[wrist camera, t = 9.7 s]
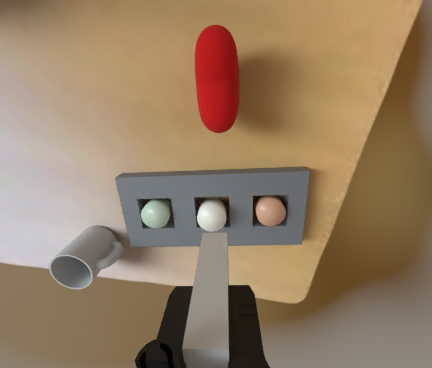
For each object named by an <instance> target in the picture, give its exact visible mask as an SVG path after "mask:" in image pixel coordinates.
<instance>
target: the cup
mask: <svg viewBox="0 0 432 368" xmlns="http://www.w3.org/2000/svg"><path fill="white" fill-rule="evenodd" d="M122 252H123V245H122V244H121V243H120V242H118V241H117V239H116V237H115V235H114V234H113V233H112V232H111V231H110V230H109V229H107V228H105V227H101V226H92V227H89V228H87V229H86V230H84V231H83V232H82V233H81V234H80V235H79V236H78V237H77V238H75V239H74V240H73V241H72V242H71V243H70V244H69V245H68V246H66V247H65V248H64V249H63V250H62V251H61V252H60V253H59V254H58V255H56V256H55V257H54V258H53V259H52V260H51V262H50V264H49V270H50V273H51V275H52V277H53V278H54V279H55V280H56V281H57V282H58V283H60V284H61V285H63V286H65V287H68V288H72V289H82V288H85V287H87V286H89V285H90V284H91V282H92V281H93V280H94V278H95V277H96V276H97V274H98V273H99V272H100V270H101V269H104V268H107V267H109V266H111V265H112V264H113V263H115V262H116V261H117V260H118V259H119V257H120V256H121V255H122Z"/></svg>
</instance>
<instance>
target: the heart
mask: <svg viewBox="0 0 432 368" xmlns="http://www.w3.org/2000/svg"><path fill="white" fill-rule="evenodd" d="M195 75H196V87H197V100H198V107H199V112H200V116H201V119H202V121H203V123H204V125H205V126H206V127H207V128H208V129H209V130H210V131H212V132H215V133H222V132H225V131H227V130H229V129H230V128H231V127H232V125H233V124H234V122H235V120H236V117H237V112H238V105H239V66H238V56H237V49H236V45H235V42H234V39H233V37H232V35H231V33H230V32H229V31H228V30H227V29H226V28H224V27H223V26H220V25H211V26H209V27H207V28H205V29H204V30H203V31H202V32H201V34H200V35H199V37H198V40H197V43H196V48H195Z"/></svg>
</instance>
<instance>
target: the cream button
mask: <svg viewBox="0 0 432 368" xmlns="http://www.w3.org/2000/svg"><path fill="white" fill-rule="evenodd" d="M197 221H198V224H199V225H200V227H201V228H203V229H204V230H206V231H210V232H214V231H218V230H220V229H221V228H223V226H224V225H225V223H226V207H225V205H224V204H223V202H221V201H220V200H218V199H214V198H210V199H207V200H205V201H203V202H202V203H201V205H200V208H199V212H198V216H197Z"/></svg>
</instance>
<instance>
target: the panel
mask: <svg viewBox="0 0 432 368" xmlns="http://www.w3.org/2000/svg"><path fill="white" fill-rule="evenodd" d="M309 176H310V171H309V170H308V169H307V168H305V167H285V168H257V169H229V170H202V171H174V172H147V173H122V174H120V175H119V176H117V177H116V178H115V180H116V184H117V189H118V193H119V198H120V202H121V206H122V211H123V215H124V219H125V224H126V228H127V232H128V237H129V241H130V245H131V247H178V246H200V245H201V239H202V234H203V233H227V244H228V246H241V245H302V240H303V231H304V222H305V212H306V203H307V194H308V185H309ZM262 195H285V198H284V208H285V210H286V215H285V218H284V220H283V221H282V222H281V223H279V224H278V225H275V226H266V225H263V224H262V223H261V222H260V221H259V220H258V219H253V196H262ZM227 196H229V213H230V220H226V223H225V225H224V226H223V228H221V229H220V230H218V231H214V232H210V231H206V230H204V229H203V228H201V227H200V225H199V224H198V221H197V216H198V210H197V199H196V197H227ZM158 198H171V203H172V210H173V218H174V221H168V222H167V224H166V225H165V226H164V227H162V228H151V227H149V226H147V225H146V224H145V223H144V222H143V220H142V218H141V212H142V209H143V208H144V207H145V206H144V201H143V199H158Z"/></svg>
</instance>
